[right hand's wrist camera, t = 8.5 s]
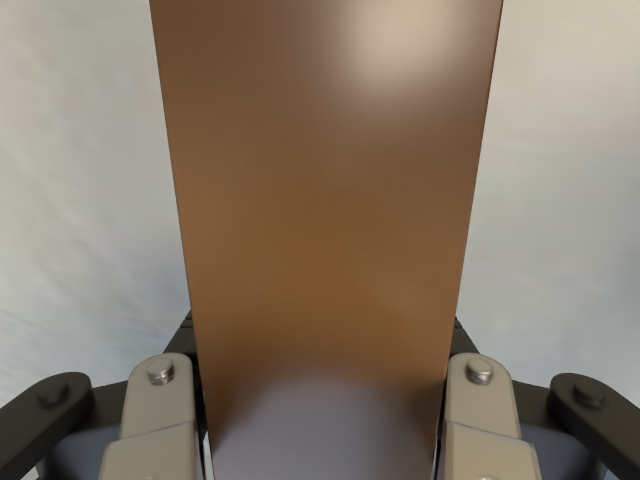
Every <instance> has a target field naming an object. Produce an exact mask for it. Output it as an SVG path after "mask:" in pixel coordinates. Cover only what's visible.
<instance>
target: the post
mask: <svg viewBox="0 0 640 480" xmlns="http://www.w3.org/2000/svg"><path fill="white" fill-rule="evenodd" d="M149 3H150V11H151V18H152V25H153V33H154V40H155V47H156V55H157V62H158V70H159V77H160V84H161V92H162V99H163V106H164V114H165V121H166V129H167V136H168V143H169V151H170V158H171V165H172V173H173V180H174V188H175V195H176V202H177V210H178V217H179V224H180V232H181V239H182V247H183V254H184V261H185V269H186V276H187V283H188V291H189V298H190V306H191V313H192V320H193V328H194V335H195V342H196V350H197V357H198V365H199V372H200V379H201V387H202V394H203V401H204V409H205V416H206V424H207V431H208V438H209V446H210V453H211V460H212V468H213V475H214V480H430V478H431V471H432V465H433V458H434V452H435V445H436V439H437V432H438V426H439V419H440V413H441V406H442V400H443V393H444V386H445V380H446V373H447V367H448V360H449V354H450V347H451V341H452V334H453V328H454V321H455V314H456V308H457V301H458V295H459V288H460V282H461V275H462V269H463V262H464V256H465V249H466V242H467V236H468V229H469V223H470V216H471V210H472V203H473V197H474V190H475V184H476V177H477V171H478V164H479V157H480V151H481V144H482V138H483V131H484V125H485V118H486V112H487V105H488V99H489V92H490V85H491V79H492V72H493V66H494V59H495V53H496V46H497V40H498V33H499V27H500V20H501V13H502V7H503V0H149Z"/></svg>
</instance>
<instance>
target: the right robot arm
mask: <svg viewBox="0 0 640 480" xmlns="http://www.w3.org/2000/svg"><path fill="white" fill-rule="evenodd" d="M206 432H207V424H206V416H205V409H204V401H203V394H202V387H201V379H200V372H199V365H198V357H197V350H196V342H195V335H194V328H193V320H192V313H191V310H190V311H189V313H188V314H187V316H186V317H185V320H184V321H183V322H182V324H181V325H180V328H178V330H177V332H176V333H175V335H174V336H173V338H172V339H171V341H170V343H169V344H168V346H167V347H166V349H165V350H164V352H163V354H159V355H156V356H153V357H150V358H148V359H146V360H144V361H143V362H141V363H140V364H138V365H137V366H136V367H135V368H134V369H133V371H132V372H131V374H130V376H129V379H128V380H126V381H123V382H119V383H114V384H110V385H105V386H101V387H96V388H92V385H91V381H90V378H89V377H88V376H87V375H86V374H84V373H80V372H66V373H61V374H57V375H54V376H51V377H48V378H46V379H43V380H41V381H39V382H37V383H36V384H34V385H32V386H31V387H29V388H28V389H27V390H25V391H24V392H22V393H21V394H20V395H18V396H17V397H16V398H14V399H13V400H12V401H10V402H9V403H7V404H6V405H5V406H3V407H2V408H1V409H0V480H20V479H22V478H23V477H24V476H25V475H26V474H27V473H28V472H29V471H30V470H31V469H32V468H33V467H34V466H35V467H36V469H37V472H38V475H39V477H38V478H37V479H36V480H207V474H206V461H205V449H204V442H203V440H204V438H205V435H206ZM608 469H609V470H610V471H611V472H612V473H613V474H614V475H615V476H616V477H617V478H618V479H620V480H640V409H639V408H638V407H637V406H635V405H634V404H633V403H631V402H630V401H628V400H627V399H626V398H624V397H623V396H622V395H620V394H619V393H618V392H616V391H615V390H613V389H612V388H610V387H609V386H607V385H606V384H604V383H602V382H600V381H598V380H596V379H593V378H590V377H587V376H584V375H580V374H574V373H561V374H558V375H556V376H554V377H553V378H552V380H551V383H550V387H549V388H544V387H540V386H535V385H530V384H526V383H522V382H518V381H515V380H512V379H511V376H510V374H509V372H508V371H507V369H506V368H505V367H504V366H503V365H501V364H500V363H499V362H497V361H495V360H494V359H492V358H490V357H487V356H484V355H481V354H480V353H479V352H478V350H477V348H476V347H475V345H474V344H473V342H472V341H471V339H470V338H469V336H468V335H467V333H466V331H465V330H464V329H463V328H462V325H461V324H460V322H459V321H458V320H457V318H456V316H455V321H454V328H453V334H452V341H451V347H450V354H449V360H448V367H447V373H446V380H445V386H444V393H443V400H442V406H441V413H440V419H439V426H438V432H437V442H436V449H435V461H434V473H433V480H604V478H605V475H606V472H607V470H608Z"/></svg>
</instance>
